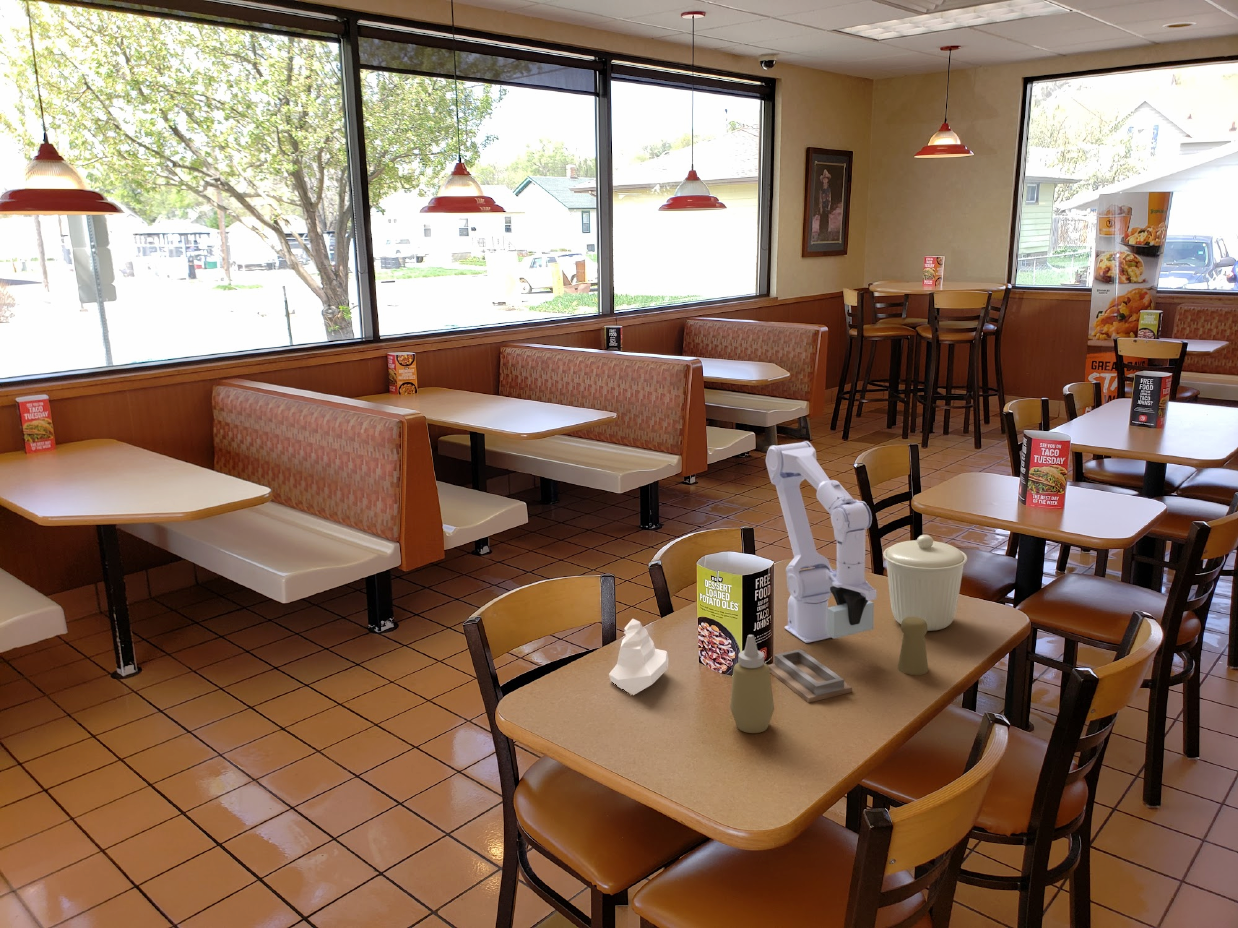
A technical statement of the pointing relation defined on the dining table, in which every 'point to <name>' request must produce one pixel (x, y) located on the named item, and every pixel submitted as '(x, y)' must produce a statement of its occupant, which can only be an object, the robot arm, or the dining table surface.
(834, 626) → the pale blue rectangular brick
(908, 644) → the cork
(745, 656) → the squeeze bottle
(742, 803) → the dining table surface
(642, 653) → the soft serve ice cream
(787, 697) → the dining table surface
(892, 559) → the canister
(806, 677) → the track
